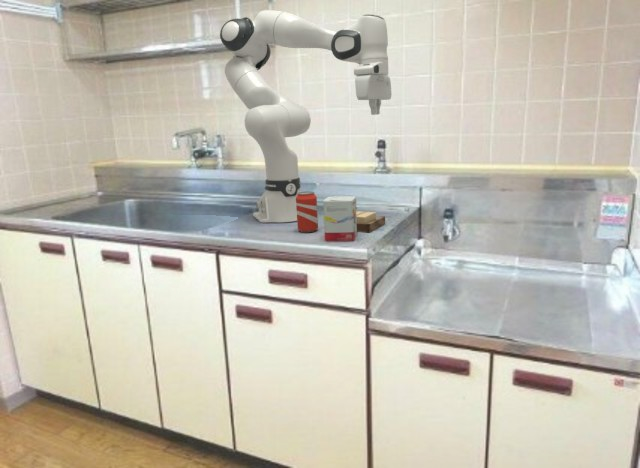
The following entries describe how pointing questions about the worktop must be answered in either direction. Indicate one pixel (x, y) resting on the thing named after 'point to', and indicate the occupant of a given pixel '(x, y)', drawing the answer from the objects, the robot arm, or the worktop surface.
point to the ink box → (340, 218)
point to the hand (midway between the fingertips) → (375, 114)
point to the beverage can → (307, 211)
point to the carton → (365, 216)
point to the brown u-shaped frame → (371, 225)
